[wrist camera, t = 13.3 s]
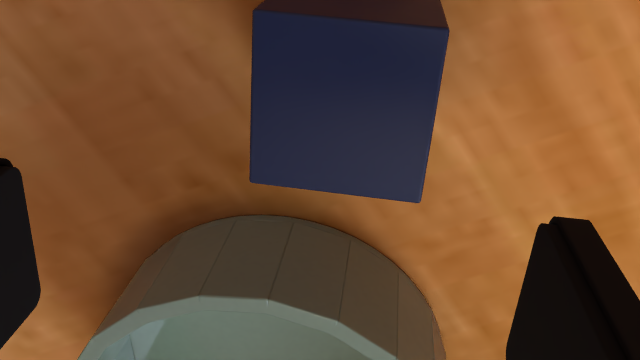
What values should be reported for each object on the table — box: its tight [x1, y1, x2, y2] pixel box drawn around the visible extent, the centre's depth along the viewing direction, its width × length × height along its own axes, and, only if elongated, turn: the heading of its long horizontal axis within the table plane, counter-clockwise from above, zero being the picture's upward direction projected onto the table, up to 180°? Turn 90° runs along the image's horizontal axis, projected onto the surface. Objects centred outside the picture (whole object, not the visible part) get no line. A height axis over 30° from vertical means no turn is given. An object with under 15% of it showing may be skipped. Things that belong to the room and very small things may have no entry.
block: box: [249, 0, 449, 203], centre depth 19 cm, size 5×5×8 cm
